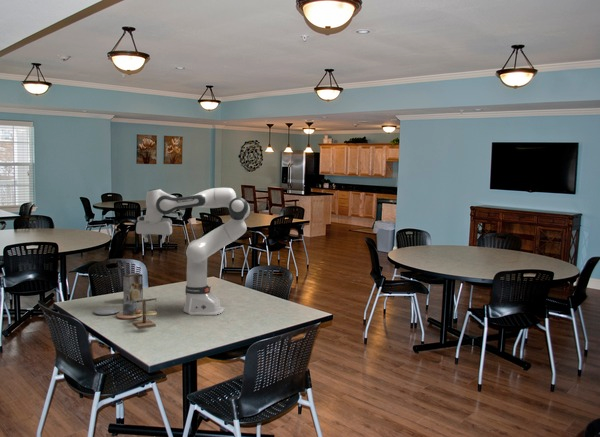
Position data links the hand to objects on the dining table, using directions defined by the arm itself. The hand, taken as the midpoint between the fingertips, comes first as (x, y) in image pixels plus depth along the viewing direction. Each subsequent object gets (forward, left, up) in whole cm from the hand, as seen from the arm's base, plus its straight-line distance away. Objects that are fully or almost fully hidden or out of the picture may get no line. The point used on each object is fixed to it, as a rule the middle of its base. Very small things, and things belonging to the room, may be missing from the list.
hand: (154, 242), depth 292 cm
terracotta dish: (+4, +22, -37) cm, 43 cm away
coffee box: (+16, -7, -37) cm, 41 cm away
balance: (-10, +35, -37) cm, 52 cm away
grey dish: (+19, +18, -37) cm, 45 cm away
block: (+4, +22, -36) cm, 42 cm away
